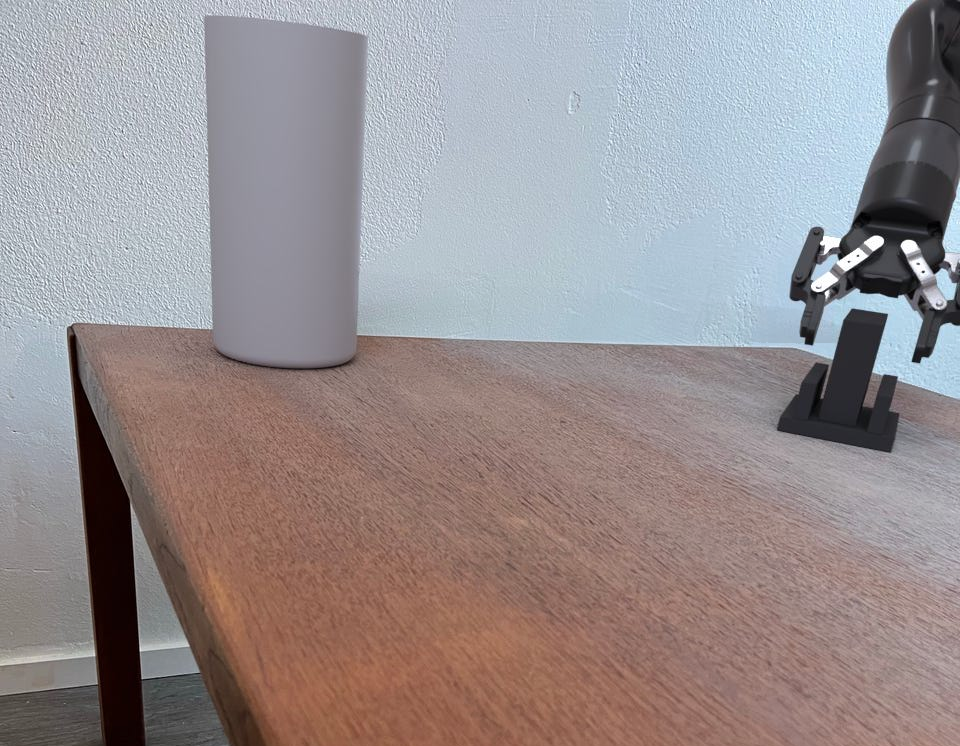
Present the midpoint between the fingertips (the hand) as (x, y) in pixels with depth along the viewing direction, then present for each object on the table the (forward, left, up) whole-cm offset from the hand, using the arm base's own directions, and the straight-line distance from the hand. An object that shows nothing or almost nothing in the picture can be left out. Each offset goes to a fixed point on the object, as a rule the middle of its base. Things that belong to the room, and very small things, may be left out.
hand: (862, 348), depth 80 cm
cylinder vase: (+46, -17, -7) cm, 49 cm away
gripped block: (0, -1, -6) cm, 6 cm away
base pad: (0, -1, -7) cm, 7 cm away
